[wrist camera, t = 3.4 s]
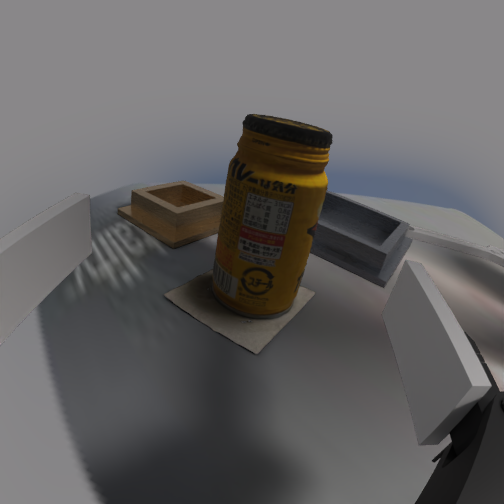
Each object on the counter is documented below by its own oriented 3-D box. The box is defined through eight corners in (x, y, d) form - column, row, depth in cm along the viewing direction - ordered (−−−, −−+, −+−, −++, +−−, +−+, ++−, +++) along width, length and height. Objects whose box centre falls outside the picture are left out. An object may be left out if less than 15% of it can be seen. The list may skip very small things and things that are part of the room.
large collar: (411, 243, 38) (417, 225, 37) (384, 287, 27) (394, 262, 25) (313, 202, 45) (317, 185, 44) (250, 224, 34) (254, 201, 33)
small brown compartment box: (240, 224, 33) (244, 201, 32) (173, 248, 26) (175, 220, 25) (182, 198, 37) (184, 177, 36) (117, 213, 31) (118, 189, 29)
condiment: (314, 294, 24) (360, 137, 19) (256, 356, 17) (310, 133, 12) (236, 257, 27) (263, 112, 22) (163, 299, 20) (178, 106, 15)
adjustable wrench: (398, 238, 40) (402, 226, 40) (389, 222, 46) (392, 212, 45) (522, 277, 38) (526, 267, 37) (506, 259, 44) (509, 250, 43)
